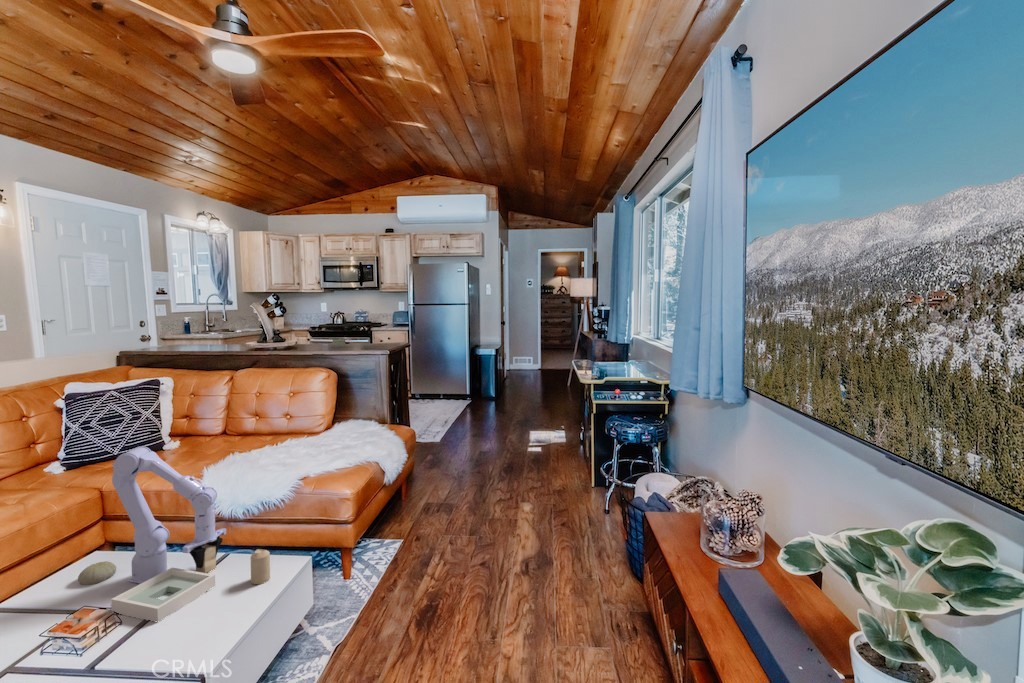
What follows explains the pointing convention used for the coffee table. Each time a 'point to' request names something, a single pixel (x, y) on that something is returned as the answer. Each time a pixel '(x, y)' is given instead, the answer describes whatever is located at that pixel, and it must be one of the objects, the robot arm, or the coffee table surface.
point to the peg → (208, 559)
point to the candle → (260, 566)
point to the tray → (172, 580)
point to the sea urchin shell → (97, 573)
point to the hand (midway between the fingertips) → (206, 563)
